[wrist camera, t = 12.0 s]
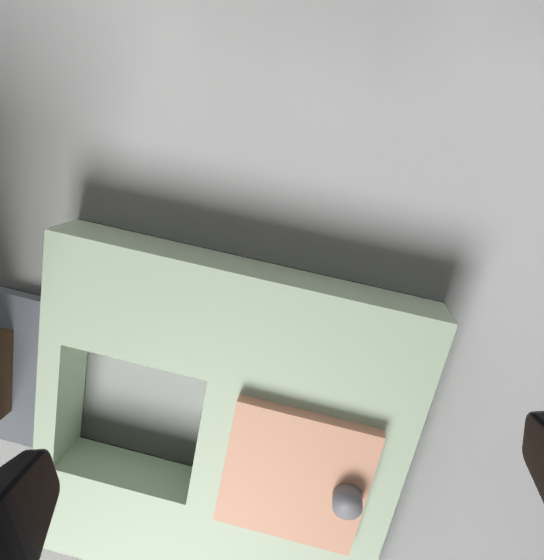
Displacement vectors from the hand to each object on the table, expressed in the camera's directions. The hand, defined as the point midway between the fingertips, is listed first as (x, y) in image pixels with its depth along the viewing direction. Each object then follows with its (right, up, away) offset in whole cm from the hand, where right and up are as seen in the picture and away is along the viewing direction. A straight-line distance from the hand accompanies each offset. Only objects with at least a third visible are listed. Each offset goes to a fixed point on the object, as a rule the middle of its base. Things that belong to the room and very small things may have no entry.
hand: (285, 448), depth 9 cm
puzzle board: (-3, -3, +14) cm, 15 cm away
